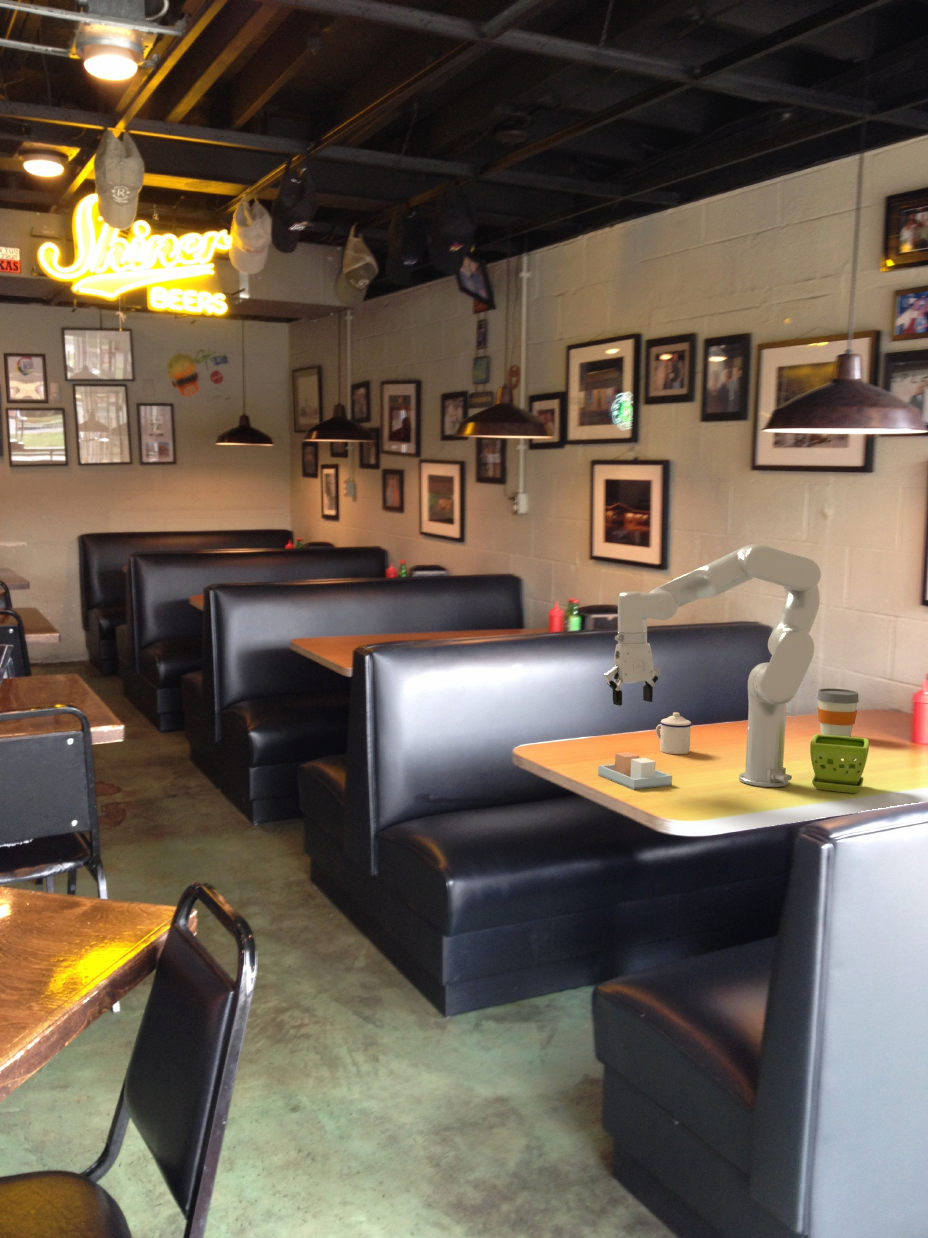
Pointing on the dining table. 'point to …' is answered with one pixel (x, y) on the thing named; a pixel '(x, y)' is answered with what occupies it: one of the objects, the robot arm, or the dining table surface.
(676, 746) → the teacup with lid
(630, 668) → the robot arm
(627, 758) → the terracotta block
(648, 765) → the white block
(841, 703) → the reusable coffee cup
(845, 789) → the flower pot
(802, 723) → the dining table surface
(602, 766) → the tray
